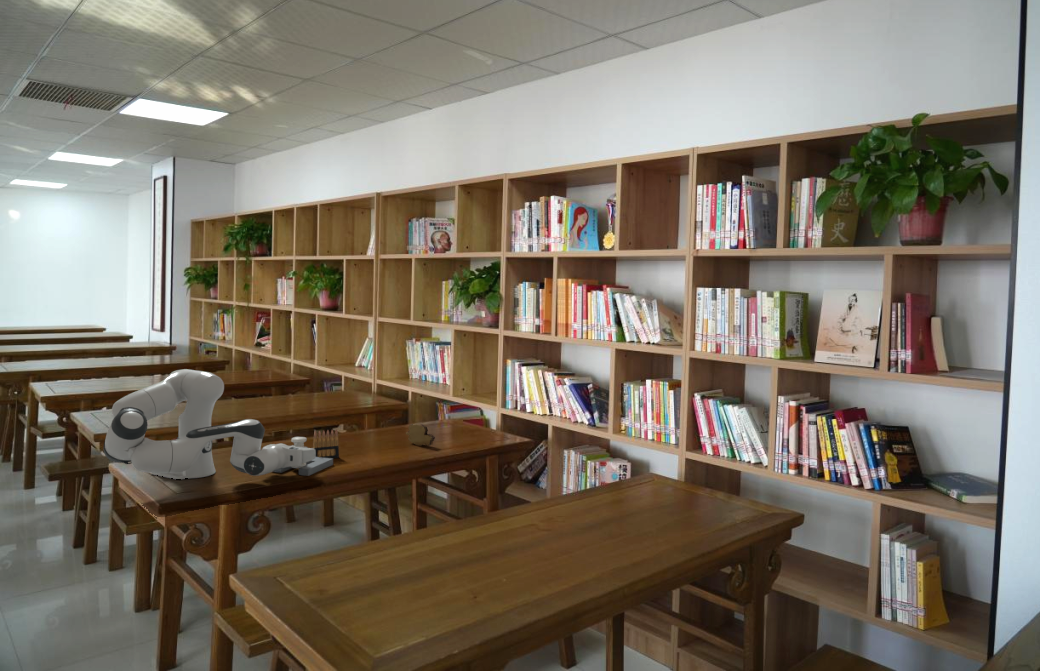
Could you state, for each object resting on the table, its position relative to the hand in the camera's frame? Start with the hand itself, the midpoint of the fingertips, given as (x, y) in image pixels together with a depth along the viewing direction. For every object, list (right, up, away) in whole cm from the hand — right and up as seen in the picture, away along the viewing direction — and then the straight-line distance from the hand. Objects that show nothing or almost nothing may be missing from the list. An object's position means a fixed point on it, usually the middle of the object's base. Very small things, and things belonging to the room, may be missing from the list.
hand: (300, 448), depth 278 cm
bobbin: (-1, -7, 0) cm, 7 cm away
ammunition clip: (+5, -8, +19) cm, 21 cm away
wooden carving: (+40, -7, +49) cm, 63 cm away
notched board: (0, -8, +3) cm, 9 cm away
